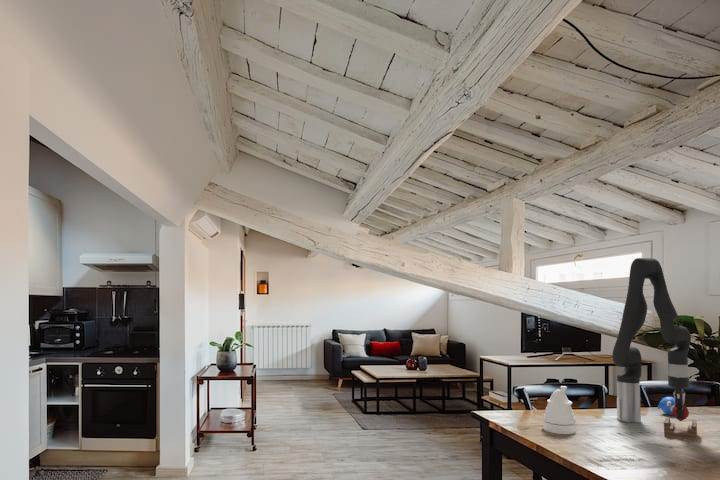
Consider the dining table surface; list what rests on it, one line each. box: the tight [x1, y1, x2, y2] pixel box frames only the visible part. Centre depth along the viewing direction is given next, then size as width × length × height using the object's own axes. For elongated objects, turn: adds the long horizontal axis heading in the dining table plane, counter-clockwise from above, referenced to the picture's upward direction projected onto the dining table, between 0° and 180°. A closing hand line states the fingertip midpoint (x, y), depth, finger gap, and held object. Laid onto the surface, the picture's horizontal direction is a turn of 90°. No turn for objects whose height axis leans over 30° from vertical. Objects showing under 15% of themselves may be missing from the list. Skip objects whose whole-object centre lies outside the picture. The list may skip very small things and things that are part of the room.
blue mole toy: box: [657, 396, 675, 416], centre depth 253 cm, size 12×12×8 cm
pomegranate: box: [672, 403, 690, 422], centre depth 217 cm, size 6×6×8 cm
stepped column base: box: [663, 416, 698, 442], centre depth 216 cm, size 12×11×6 cm
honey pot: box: [542, 385, 577, 435], centre depth 222 cm, size 13×13×18 cm
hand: (680, 417), depth 216 cm, fingers closed on pomegranate, 6 cm apart
